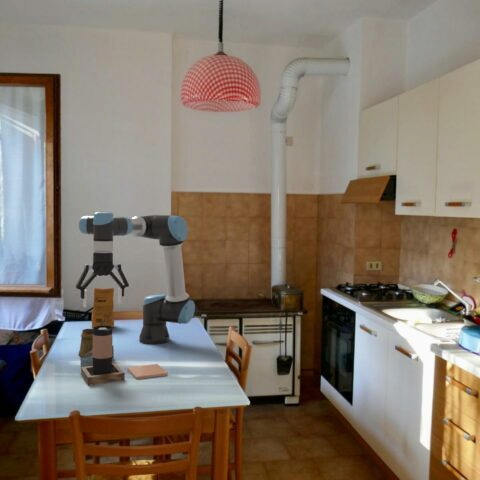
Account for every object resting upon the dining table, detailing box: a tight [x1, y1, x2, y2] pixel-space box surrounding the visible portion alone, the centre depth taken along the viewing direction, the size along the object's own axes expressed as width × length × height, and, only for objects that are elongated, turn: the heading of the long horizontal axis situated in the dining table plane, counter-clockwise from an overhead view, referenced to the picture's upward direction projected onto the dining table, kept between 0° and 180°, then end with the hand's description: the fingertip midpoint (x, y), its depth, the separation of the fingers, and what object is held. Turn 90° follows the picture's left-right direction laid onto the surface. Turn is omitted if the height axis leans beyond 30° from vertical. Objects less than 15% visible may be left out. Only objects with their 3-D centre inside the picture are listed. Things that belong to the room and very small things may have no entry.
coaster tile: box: [126, 363, 169, 380], centre depth 218 cm, size 13×13×1 cm
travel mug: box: [92, 326, 114, 376], centre depth 210 cm, size 8×8×20 cm
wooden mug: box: [78, 316, 109, 357], centre depth 242 cm, size 9×14×18 cm, turn 93°
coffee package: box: [91, 287, 115, 329], centre depth 295 cm, size 10×12×22 cm
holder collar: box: [80, 362, 126, 386], centre depth 210 cm, size 14×14×3 cm
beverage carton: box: [80, 347, 115, 368], centre depth 227 cm, size 8×19×7 cm, turn 173°
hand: (102, 305), depth 208 cm, fingers open, 13 cm apart
